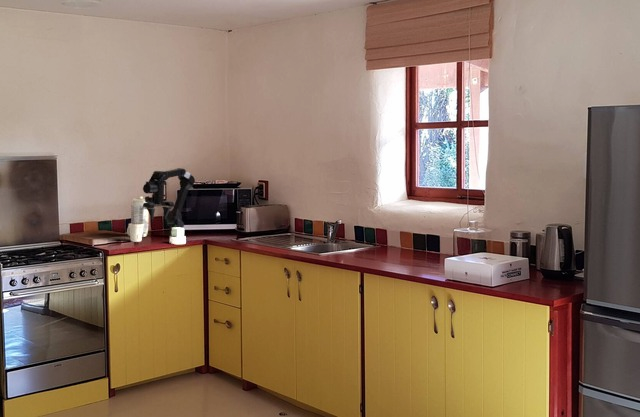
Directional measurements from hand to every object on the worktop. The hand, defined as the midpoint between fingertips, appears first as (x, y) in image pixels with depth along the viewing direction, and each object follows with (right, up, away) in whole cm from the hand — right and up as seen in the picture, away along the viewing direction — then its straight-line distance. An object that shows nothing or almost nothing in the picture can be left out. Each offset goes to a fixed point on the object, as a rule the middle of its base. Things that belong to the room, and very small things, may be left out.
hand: (158, 219), depth 436 cm
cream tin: (+13, -14, -8) cm, 20 cm away
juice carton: (-14, -11, +12) cm, 21 cm away
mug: (-13, -12, -5) cm, 19 cm away
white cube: (+13, -10, -8) cm, 18 cm away
